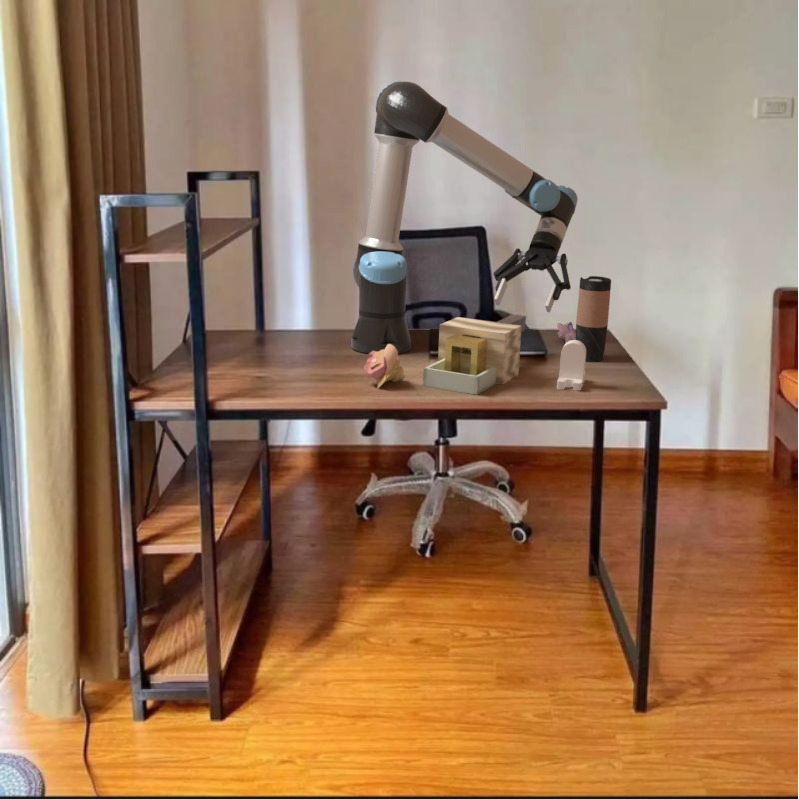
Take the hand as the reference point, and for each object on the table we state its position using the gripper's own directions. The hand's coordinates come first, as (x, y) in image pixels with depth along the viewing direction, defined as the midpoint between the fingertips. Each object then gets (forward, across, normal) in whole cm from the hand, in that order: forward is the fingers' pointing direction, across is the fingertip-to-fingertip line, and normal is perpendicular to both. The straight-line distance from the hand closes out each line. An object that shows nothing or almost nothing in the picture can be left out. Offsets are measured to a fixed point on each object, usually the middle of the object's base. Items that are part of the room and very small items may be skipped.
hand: (521, 305), depth 254 cm
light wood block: (+27, +1, -10) cm, 29 cm away
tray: (+34, +1, -17) cm, 38 cm away
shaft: (+15, 0, -7) cm, 17 cm away
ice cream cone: (+41, -14, -23) cm, 49 cm away
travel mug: (+6, +17, +11) cm, 21 cm away
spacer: (+32, +1, -16) cm, 36 cm away
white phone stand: (+24, +22, -7) cm, 33 cm away
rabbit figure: (-5, +6, +23) cm, 24 cm away
